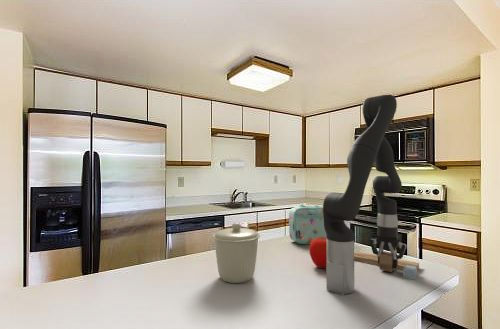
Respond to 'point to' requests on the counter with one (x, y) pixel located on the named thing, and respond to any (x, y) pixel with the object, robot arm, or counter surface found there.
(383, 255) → the walnut block
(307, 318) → the counter surface
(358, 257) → the oak board
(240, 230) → the canister
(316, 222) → the lunch box
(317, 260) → the tomato
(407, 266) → the slate stop block
